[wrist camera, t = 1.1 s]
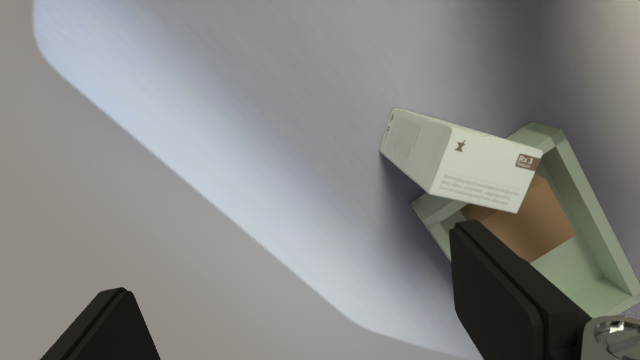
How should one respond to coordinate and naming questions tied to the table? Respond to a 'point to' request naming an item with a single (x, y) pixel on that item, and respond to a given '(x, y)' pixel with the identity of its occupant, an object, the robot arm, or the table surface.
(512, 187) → the skincare box
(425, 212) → the tote
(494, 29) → the table surface
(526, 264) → the robot arm
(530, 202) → the walnut block
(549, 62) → the table surface
